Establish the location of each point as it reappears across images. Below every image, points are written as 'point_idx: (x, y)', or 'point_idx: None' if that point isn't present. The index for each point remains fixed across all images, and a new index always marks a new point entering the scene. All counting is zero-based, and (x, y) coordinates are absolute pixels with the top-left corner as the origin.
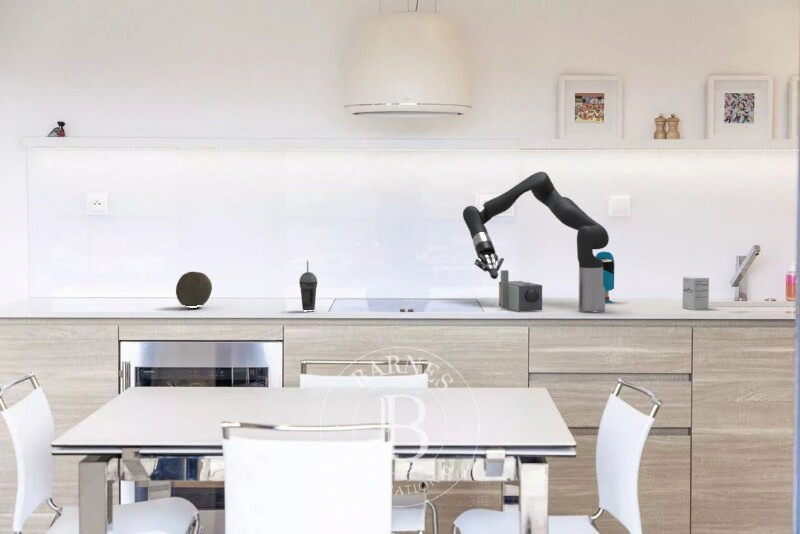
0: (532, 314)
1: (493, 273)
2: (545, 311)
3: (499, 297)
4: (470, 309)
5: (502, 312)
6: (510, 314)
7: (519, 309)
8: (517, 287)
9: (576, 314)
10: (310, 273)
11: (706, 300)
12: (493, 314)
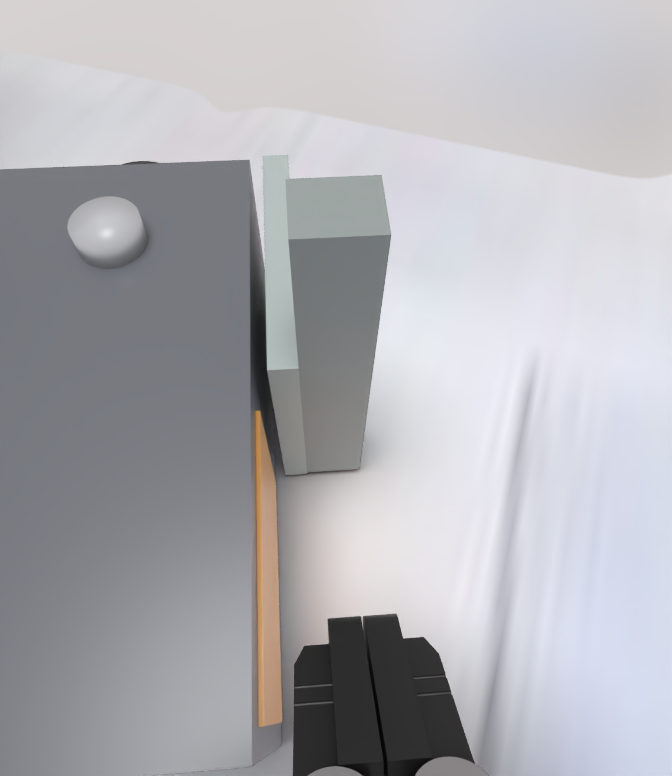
0: (256, 183)
1: (405, 647)
2: None
3: (273, 736)
4: (620, 549)
5: (405, 305)
6: None
7: None
8: (281, 160)
9: (19, 129)
10: None
11: None
12: (491, 236)
